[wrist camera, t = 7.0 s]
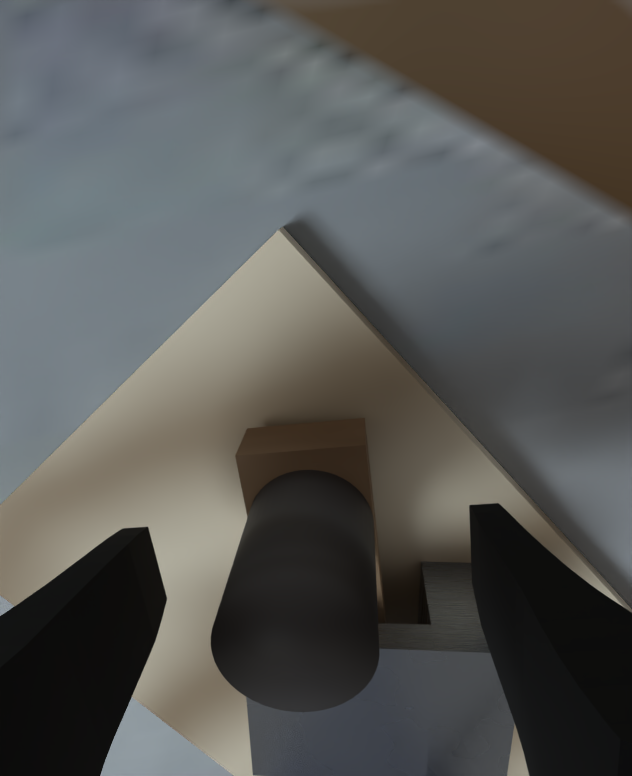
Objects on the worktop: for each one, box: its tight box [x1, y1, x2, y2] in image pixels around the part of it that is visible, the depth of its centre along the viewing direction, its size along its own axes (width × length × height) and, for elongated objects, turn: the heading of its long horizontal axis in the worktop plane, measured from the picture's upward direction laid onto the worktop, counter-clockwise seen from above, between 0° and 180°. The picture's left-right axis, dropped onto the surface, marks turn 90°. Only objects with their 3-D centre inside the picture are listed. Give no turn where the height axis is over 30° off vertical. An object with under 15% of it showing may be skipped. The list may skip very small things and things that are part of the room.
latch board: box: [0, 227, 632, 776], centre depth 18 cm, size 19×14×1 cm
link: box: [211, 418, 387, 712], centre depth 15 cm, size 17×4×5 cm, turn 7°
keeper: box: [246, 561, 515, 776], centre depth 16 cm, size 6×4×4 cm
